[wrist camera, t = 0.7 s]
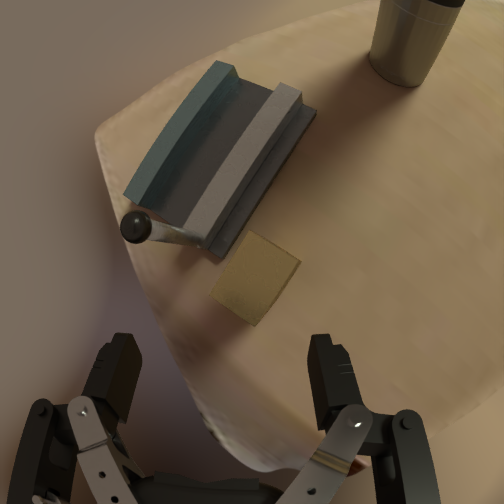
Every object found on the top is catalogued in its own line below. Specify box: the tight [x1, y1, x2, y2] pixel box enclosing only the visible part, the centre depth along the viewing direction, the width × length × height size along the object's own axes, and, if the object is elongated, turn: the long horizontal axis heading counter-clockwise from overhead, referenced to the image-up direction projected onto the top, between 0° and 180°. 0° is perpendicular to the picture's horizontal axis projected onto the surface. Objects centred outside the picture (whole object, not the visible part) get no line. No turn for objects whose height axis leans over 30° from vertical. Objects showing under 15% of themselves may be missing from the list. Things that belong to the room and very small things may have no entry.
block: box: [209, 230, 302, 327], centre depth 26 cm, size 4×6×14 cm
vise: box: [123, 60, 317, 259], centre depth 33 cm, size 16×22×4 cm
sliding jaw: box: [120, 82, 303, 250], centre depth 25 cm, size 4×22×16 cm, turn 147°
